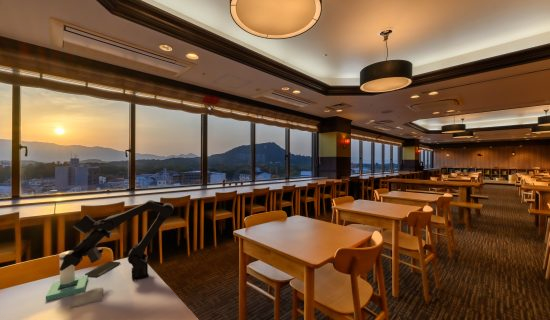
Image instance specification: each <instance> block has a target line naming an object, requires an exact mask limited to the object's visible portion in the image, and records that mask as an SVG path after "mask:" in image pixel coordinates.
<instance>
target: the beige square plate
mask: <svg viewBox="0 0 550 320" xmlns="http://www.w3.org/2000/svg"><path fill="white" fill-rule="evenodd" d="M103 291H104V287H100V288H96V289H91V290H88V291H84V292H80V293H76V294H73V296H72V300H71V302H70V306H69V309H74V308H78V307H81V306H85V305H88V304H92V303H96V302H99V301H102V300H103V299H102V297H103Z"/></svg>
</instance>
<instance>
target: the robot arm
mask: <svg viewBox="0 0 550 320" xmlns="http://www.w3.org/2000/svg"><path fill="white" fill-rule="evenodd" d="M149 210H151V211H154V212H156V213H158V214H157V217H156V218H155V220H154V222H153V223H152V224H151V226H150V227H149V229H148V230H147V231H146V233H145V235H144V236H143V237H142V239H141V240H140V242H139V243H134V245H133V246H132V248H131V249H129V252H128V254H127V256H128V258H127V262H128V263H129V264H130V265H131V266H132V268H131V279H132V280H133V281H138V280H141V279H145V278H149V265H148V261H147V260H148V255H147V254H146V253H145V252H146V249H147V248H148V245H149V244H150V242H151V241H152V239H153V238H154V237H155V235H156V233H158V230H159V229H160V228H161V226H162V225H163V223H164V222H165V221H167V219H169V217H170V216H171V215H172V214H173V213H174V205H173V204H172V203H170V202H166V203H165V202H160V201H155V200H152V199H150V200H147V201H146V202H143V203H141V204H139V205H137V206H134V207H133V208H131V209H129V210H126V211H125V212H121V213H116V214H114V215H113V214H112V215H110V216H107V217H106V218H104V219H100V220H97V221H96V220H95V219H93V218H92V217H91V216H90V215H88V214H86V215H84V216H83V217H82V218H81V219H80V220H78V221H77V222H75V224H73V226H72V227H73V228H74V229H76V230H77V231H79V232H81V233H82V234H88V235H87V236H85V237H84V239H82V240H81V241H79V242H78V243H77V245H76V246H75V247H73V249H72V250H69V251H70V252H69V253H68V254H67V255H66V256H65V257H63V259H64V261H63V263H62V265H61V267H60V266H59V271H60V270H61V271H62V270H64V269H66V268H67V267H69V266H70V265H73V266H75V267H77V266H78V265H79V264H81V262H82V261H83V260H84V259H83V257H88V259H89V260H90V263H91V264H94V263H95V262H97V261H100V260H101V258H102V257H103V254H102V253H103V252H104V249H103V248H102V247H97V246H98V244H99V243H100V242H101V241H103V239H105V238H107V239H110V238H111V237H112V230H114V229H116V228H117V227H118V226H120V225H122V224H123V223H124V222H125V221H128V220H130V219H132V218H135V217H136V216H139V215H140V214H143V213H145V212H147V211H149Z"/></svg>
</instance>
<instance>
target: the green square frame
mask: <svg viewBox="0 0 550 320" xmlns="http://www.w3.org/2000/svg"><path fill="white" fill-rule="evenodd" d="M88 278H89V277H88V275H86V276H85V275H82V276H78V277H76V276H75V280H74V281H73V282H71V283H68V284H63V285H62V284H60V280H58V281H56V282H55V281H54V282H52V284H51V285H50V288H49V290H48V292H47V294H46V295H45V302H48V301H52V300H56V299H60V298H64V297H68V296H72V295H75V294H79V293H83V292H86V287H87V283H88ZM70 286H71V287H70Z"/></svg>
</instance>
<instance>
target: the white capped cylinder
mask: <svg viewBox="0 0 550 320" xmlns="http://www.w3.org/2000/svg"><path fill="white" fill-rule="evenodd" d="M70 251H71V250H67V251H64V252H63V251H62V252H61V253H59V256H58V257H59V258H58V259H59V268H60V267H61V265H62V263H63V261H64V259H63V257H65V256H66V255H67V254H68V253H69V252H70ZM75 268H76V266H73V265H70V266H69V267H67V268H66V269H64V270H62V271H61V270H60V269H59V281H60V284H62V285H63V284H68V283H71V282H73V281H74V280H75V278H76V271H75V270H76V269H75Z"/></svg>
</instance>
